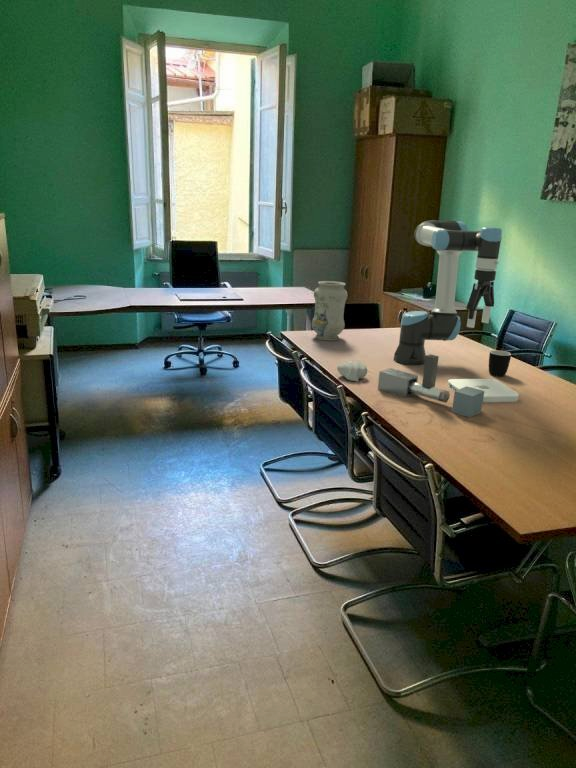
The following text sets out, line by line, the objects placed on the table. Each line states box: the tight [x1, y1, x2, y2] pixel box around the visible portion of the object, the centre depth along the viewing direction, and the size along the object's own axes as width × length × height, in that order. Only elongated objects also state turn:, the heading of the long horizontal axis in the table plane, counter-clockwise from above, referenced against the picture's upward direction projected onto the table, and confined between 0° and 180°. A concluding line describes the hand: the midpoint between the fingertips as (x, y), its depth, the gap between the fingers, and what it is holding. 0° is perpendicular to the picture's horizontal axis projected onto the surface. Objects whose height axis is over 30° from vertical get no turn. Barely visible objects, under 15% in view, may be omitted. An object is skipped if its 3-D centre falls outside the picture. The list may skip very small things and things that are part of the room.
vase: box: [311, 280, 348, 342], centre depth 306 cm, size 18×18×30 cm
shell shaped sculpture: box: [336, 360, 368, 383], centre depth 243 cm, size 13×13×6 cm
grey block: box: [451, 386, 484, 418], centre depth 208 cm, size 7×9×8 cm
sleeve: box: [377, 368, 419, 398], centre depth 227 cm, size 13×8×7 cm, turn 47°
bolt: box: [408, 353, 451, 404], centre depth 220 cm, size 26×4×16 cm, turn 47°
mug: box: [488, 349, 512, 378], centre depth 257 cm, size 12×9×10 cm
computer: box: [447, 378, 520, 403], centre depth 231 cm, size 22×22×3 cm
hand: (477, 325), depth 223 cm, fingers open, 13 cm apart
